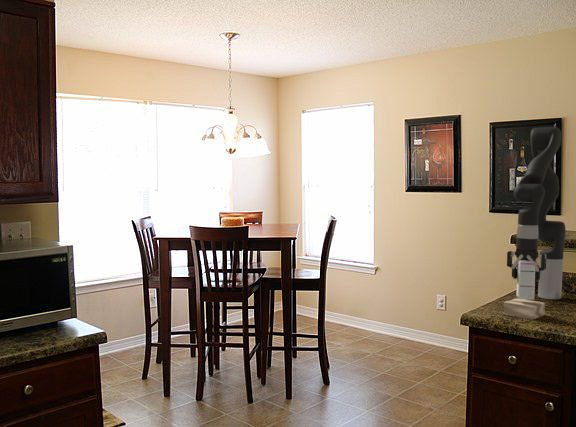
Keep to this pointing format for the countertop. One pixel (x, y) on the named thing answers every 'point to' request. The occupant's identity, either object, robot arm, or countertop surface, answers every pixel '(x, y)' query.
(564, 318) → the countertop surface
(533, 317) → the maple block
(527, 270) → the syrup box
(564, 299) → the countertop surface
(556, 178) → the robot arm
